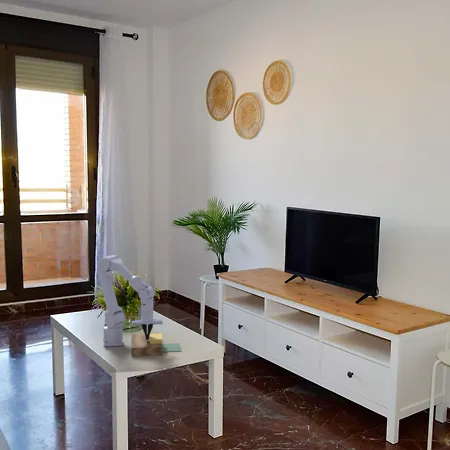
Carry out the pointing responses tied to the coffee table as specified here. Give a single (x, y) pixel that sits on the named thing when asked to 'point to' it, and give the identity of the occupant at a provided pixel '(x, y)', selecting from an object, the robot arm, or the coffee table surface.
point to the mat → (171, 347)
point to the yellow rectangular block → (155, 338)
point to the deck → (144, 346)
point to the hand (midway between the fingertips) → (147, 339)
